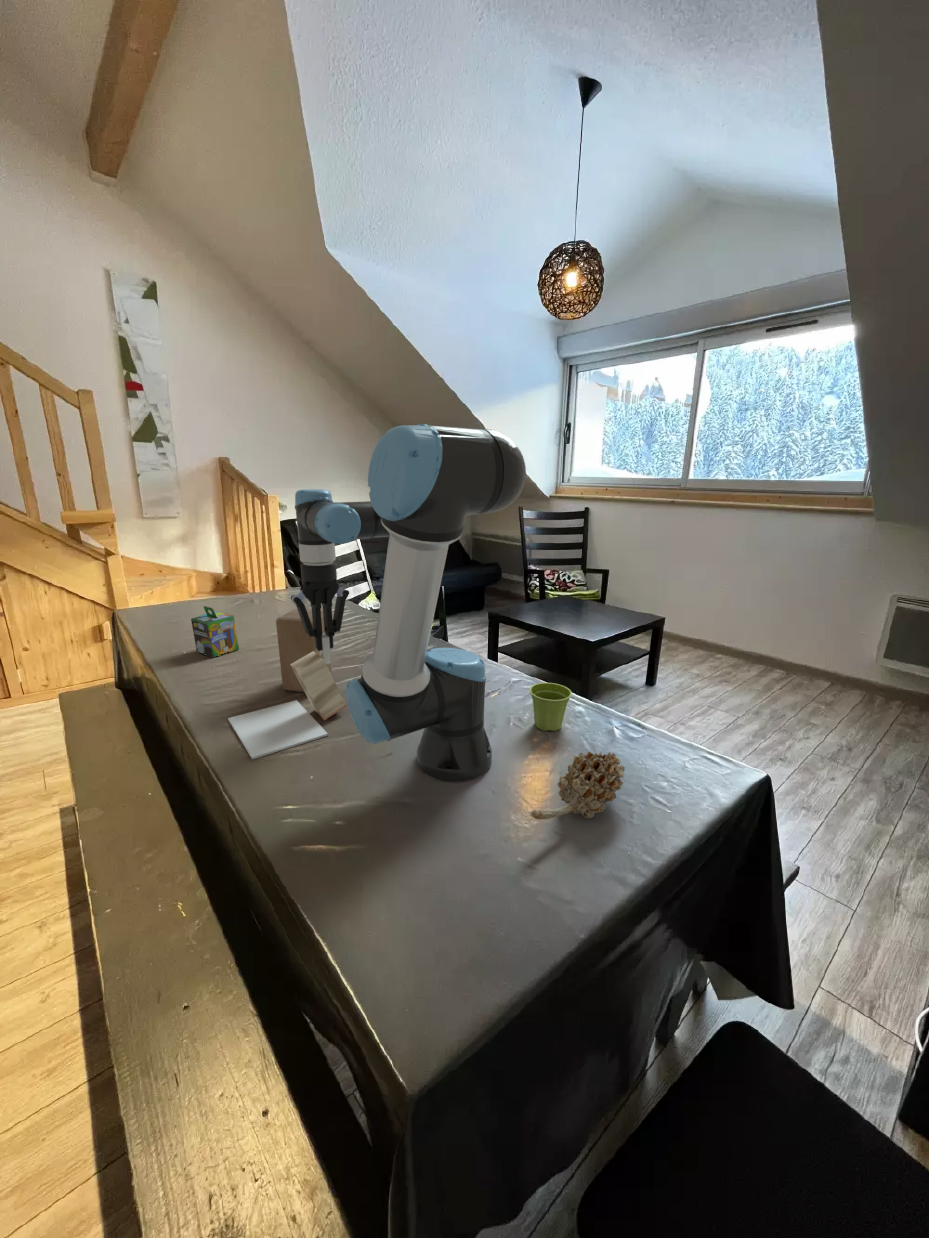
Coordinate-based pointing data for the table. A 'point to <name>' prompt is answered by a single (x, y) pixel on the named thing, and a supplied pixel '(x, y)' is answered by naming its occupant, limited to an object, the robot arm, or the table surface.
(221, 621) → the chalk box
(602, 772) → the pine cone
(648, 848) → the table surface
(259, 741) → the mat
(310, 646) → the block
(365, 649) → the table surface
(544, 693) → the plant pot
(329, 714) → the birch block
